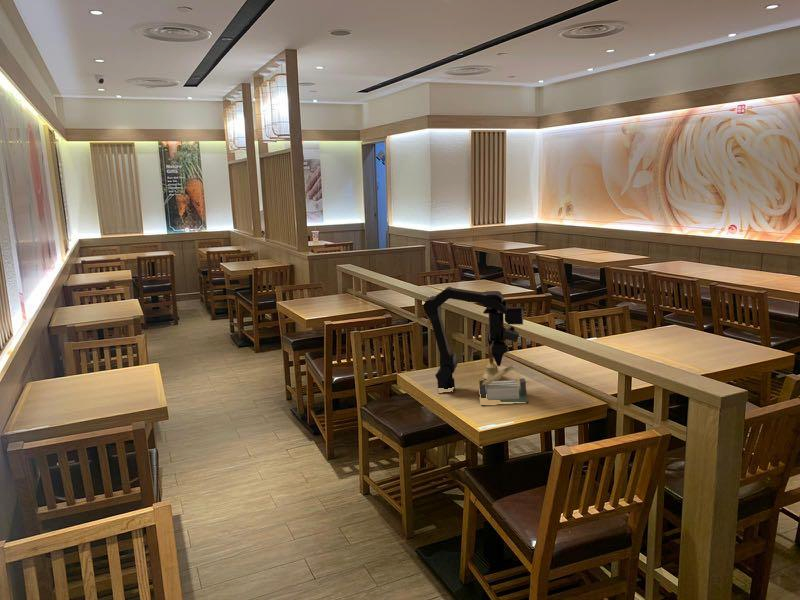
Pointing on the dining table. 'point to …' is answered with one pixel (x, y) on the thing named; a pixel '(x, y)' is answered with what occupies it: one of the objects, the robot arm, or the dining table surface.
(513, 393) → the heatsink board
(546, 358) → the dining table surface
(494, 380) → the wooden plank
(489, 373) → the hand bell
